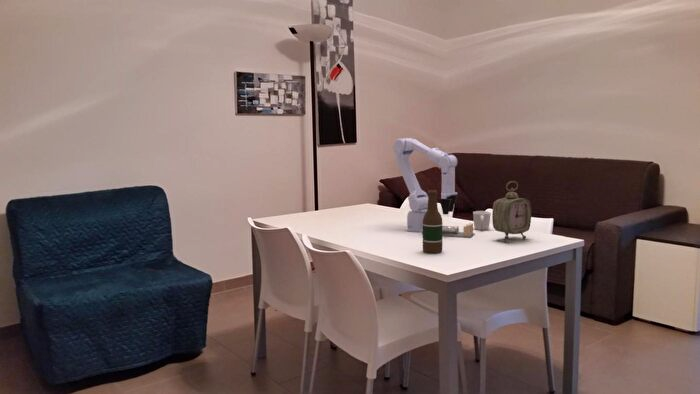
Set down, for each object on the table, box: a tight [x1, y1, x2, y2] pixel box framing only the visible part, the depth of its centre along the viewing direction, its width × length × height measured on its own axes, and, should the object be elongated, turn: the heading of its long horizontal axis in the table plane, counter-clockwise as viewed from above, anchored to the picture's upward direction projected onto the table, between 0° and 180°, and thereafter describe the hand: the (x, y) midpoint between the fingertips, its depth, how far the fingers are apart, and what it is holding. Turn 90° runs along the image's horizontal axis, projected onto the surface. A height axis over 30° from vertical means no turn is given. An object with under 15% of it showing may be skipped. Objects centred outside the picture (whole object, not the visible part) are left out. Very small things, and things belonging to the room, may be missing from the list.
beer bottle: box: [422, 189, 443, 255], centre depth 211 cm, size 8×8×24 cm
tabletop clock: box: [491, 180, 532, 243], centre depth 229 cm, size 14×9×25 cm, turn 122°
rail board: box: [442, 222, 476, 239], centre depth 243 cm, size 19×8×5 cm, turn 64°
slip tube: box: [442, 225, 460, 234], centre depth 244 cm, size 11×3×3 cm, turn 64°
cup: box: [472, 210, 492, 231], centre depth 253 cm, size 11×8×8 cm
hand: (448, 212), depth 243 cm, fingers open, 7 cm apart
